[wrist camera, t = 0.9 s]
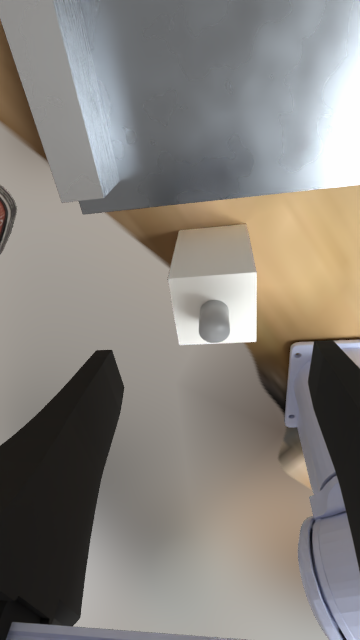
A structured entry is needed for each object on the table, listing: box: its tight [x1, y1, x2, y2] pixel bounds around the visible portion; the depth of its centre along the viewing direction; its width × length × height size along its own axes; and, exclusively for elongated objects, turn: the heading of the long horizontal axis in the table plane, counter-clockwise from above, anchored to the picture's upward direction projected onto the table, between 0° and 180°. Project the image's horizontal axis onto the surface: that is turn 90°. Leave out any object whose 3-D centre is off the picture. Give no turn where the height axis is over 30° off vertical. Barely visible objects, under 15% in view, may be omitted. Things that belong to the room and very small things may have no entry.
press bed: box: [0, 0, 360, 214], centre depth 13 cm, size 10×26×4 cm, turn 98°
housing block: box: [168, 224, 257, 345], centre depth 18 cm, size 4×4×8 cm
